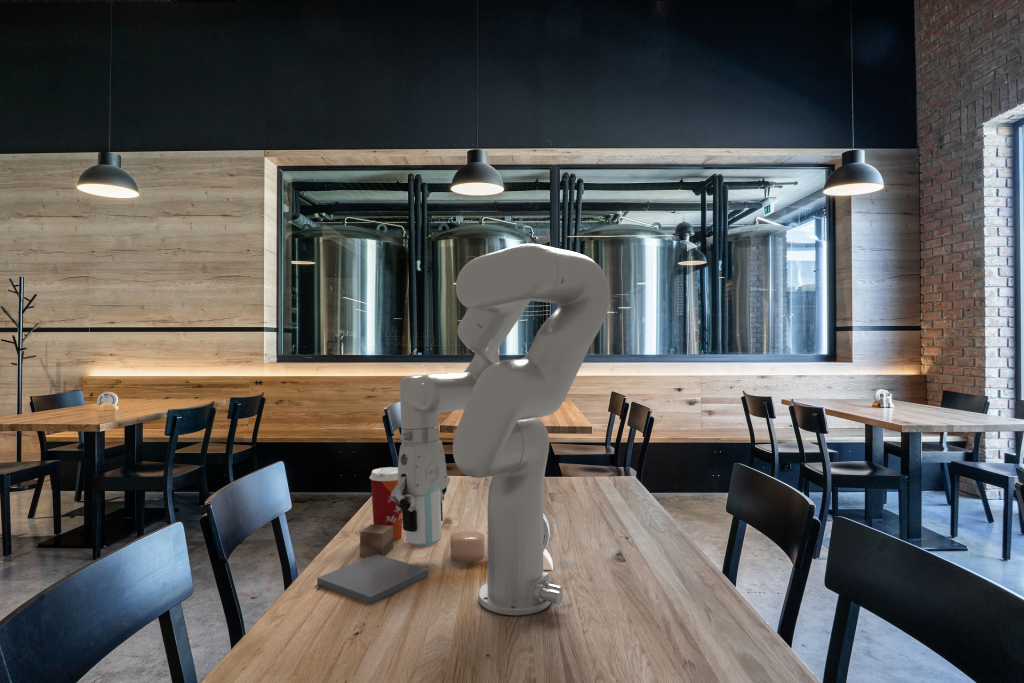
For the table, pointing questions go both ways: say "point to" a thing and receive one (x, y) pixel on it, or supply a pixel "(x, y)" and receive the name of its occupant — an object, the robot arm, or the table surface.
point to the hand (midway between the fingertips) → (423, 524)
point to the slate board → (372, 578)
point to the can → (427, 518)
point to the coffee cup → (386, 499)
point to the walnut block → (376, 540)
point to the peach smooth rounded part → (467, 546)
